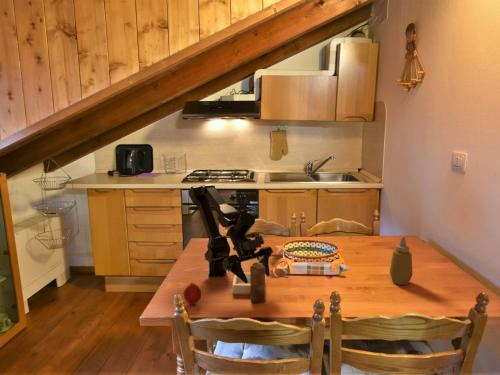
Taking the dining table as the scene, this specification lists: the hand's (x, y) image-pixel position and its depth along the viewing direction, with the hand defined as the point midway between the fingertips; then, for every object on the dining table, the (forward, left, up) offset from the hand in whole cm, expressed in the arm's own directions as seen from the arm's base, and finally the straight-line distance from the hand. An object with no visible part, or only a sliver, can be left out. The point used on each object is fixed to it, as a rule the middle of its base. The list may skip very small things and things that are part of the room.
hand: (258, 279), depth 127 cm
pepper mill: (0, 0, -8) cm, 8 cm away
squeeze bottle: (+54, +16, -8) cm, 57 cm away
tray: (-4, +10, -8) cm, 13 cm away
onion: (-22, -3, -8) cm, 24 cm away
